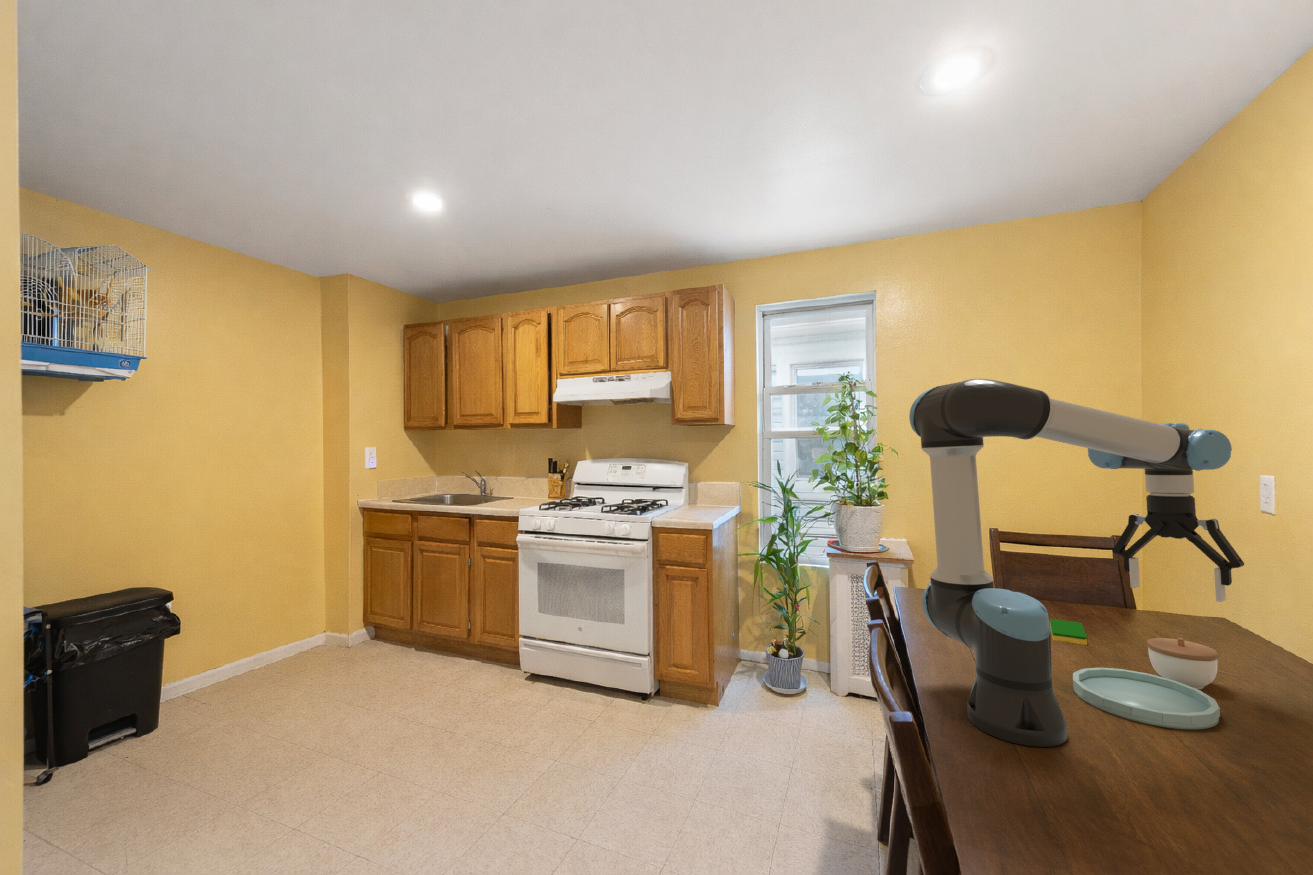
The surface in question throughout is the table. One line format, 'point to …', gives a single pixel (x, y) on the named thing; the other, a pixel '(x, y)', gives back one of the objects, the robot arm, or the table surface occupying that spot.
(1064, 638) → the dish sponge
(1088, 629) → the table surface
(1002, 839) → the table surface
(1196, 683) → the lidded jar
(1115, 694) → the round tray
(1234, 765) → the table surface
